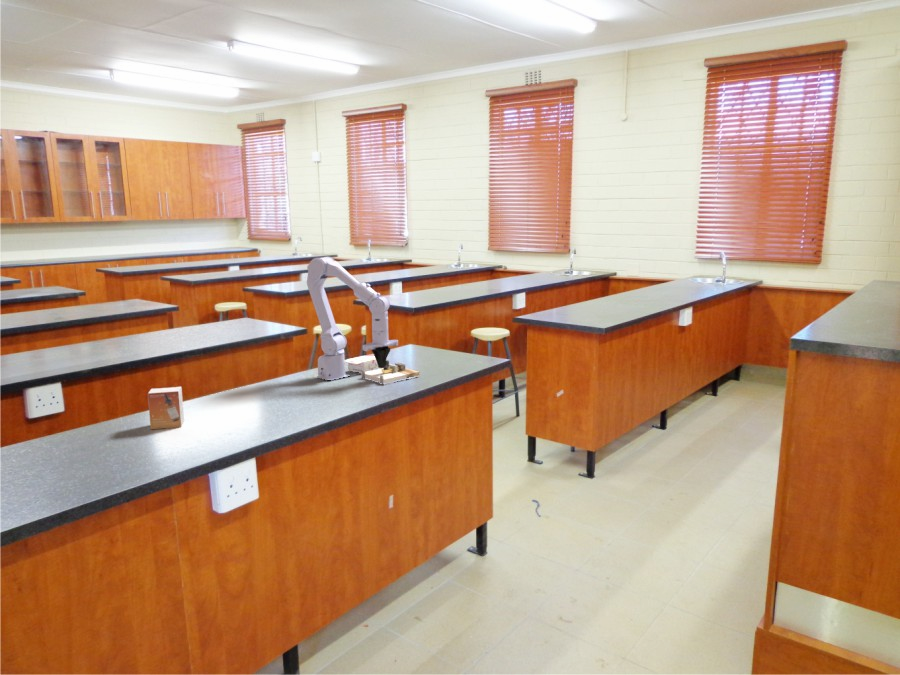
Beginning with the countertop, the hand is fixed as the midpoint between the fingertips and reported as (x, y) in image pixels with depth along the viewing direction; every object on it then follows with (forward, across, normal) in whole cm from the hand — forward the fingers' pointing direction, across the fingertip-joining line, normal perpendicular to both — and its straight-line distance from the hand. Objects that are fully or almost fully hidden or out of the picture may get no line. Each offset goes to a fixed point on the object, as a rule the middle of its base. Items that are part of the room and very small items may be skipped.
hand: (381, 367), depth 218 cm
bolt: (+2, +5, 0) cm, 5 cm away
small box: (+5, -74, +1) cm, 74 cm away
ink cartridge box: (+2, +10, +17) cm, 20 cm away
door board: (+4, +1, 0) cm, 5 cm away
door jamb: (+4, +9, 0) cm, 10 cm away
